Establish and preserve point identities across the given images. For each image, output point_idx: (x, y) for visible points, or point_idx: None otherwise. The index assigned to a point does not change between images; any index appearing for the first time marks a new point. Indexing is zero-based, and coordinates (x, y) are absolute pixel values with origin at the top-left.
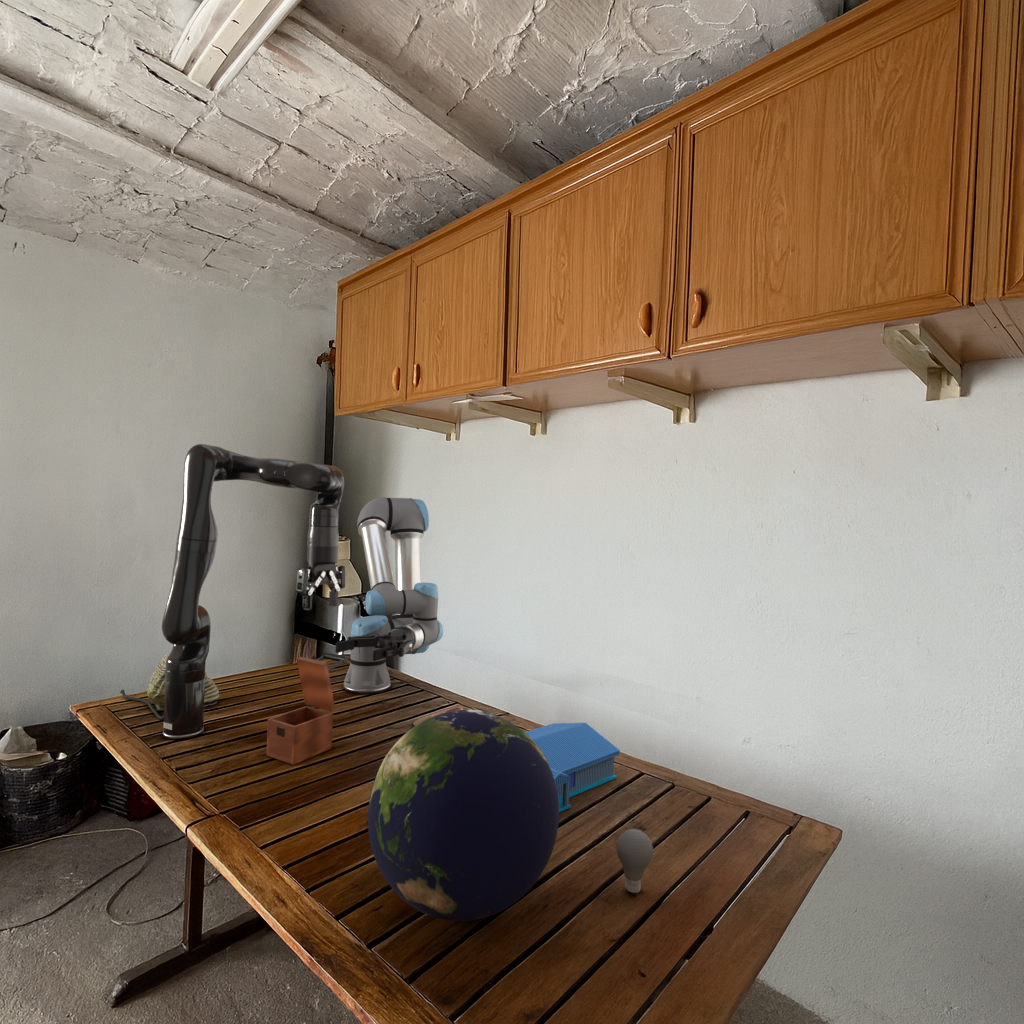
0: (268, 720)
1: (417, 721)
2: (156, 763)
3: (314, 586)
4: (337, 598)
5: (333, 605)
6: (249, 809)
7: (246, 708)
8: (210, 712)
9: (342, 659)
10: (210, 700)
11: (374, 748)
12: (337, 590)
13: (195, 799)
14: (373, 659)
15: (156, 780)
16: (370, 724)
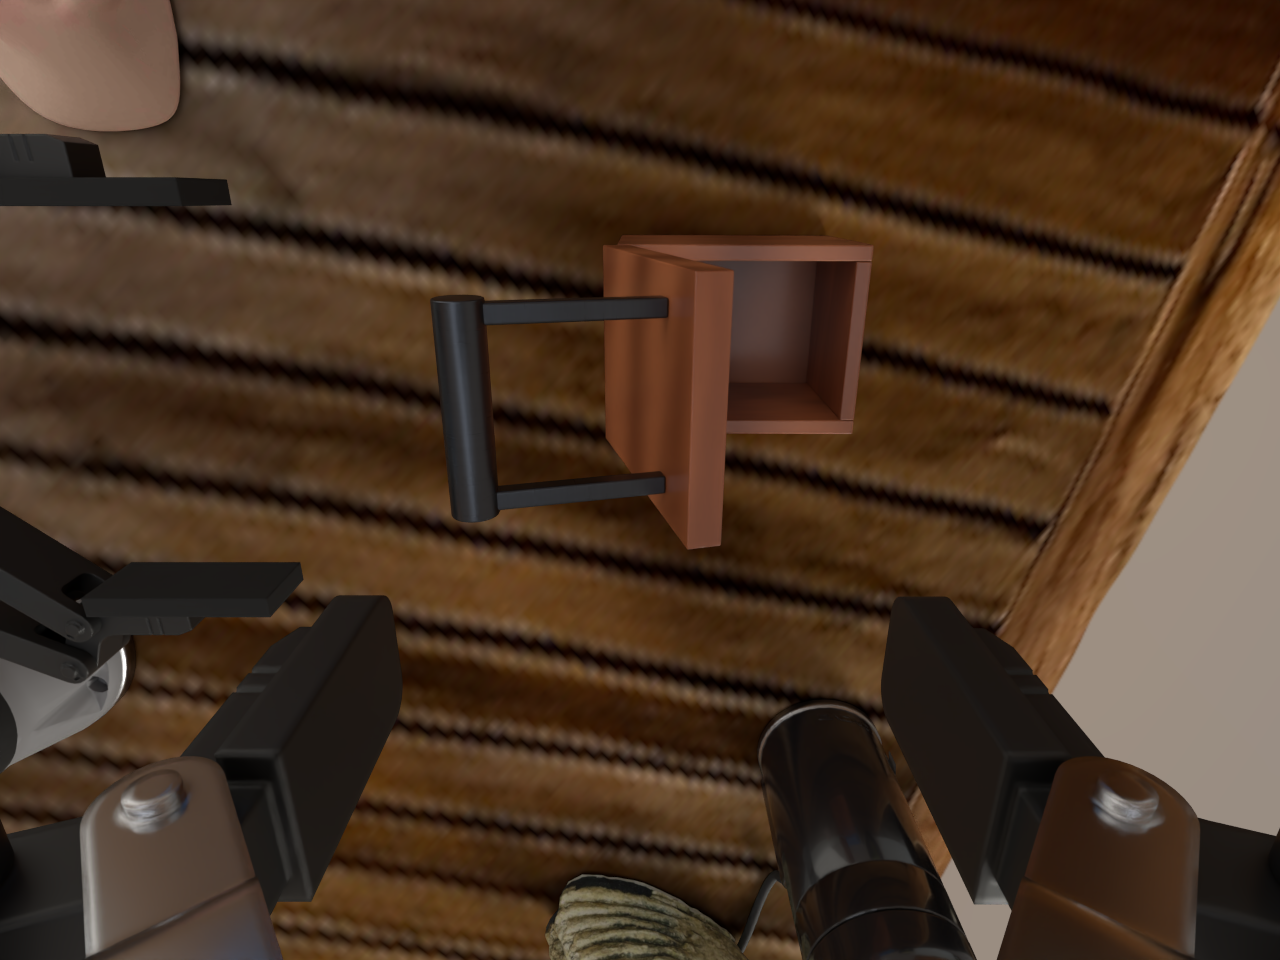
0: (851, 425)
1: (149, 91)
2: (1032, 613)
3: (1130, 928)
4: (259, 681)
5: (389, 622)
6: (1201, 55)
7: (538, 781)
8: (640, 829)
9: (482, 311)
10: (599, 890)
11: (506, 69)
12: (203, 776)
13: (1199, 289)
14: (225, 198)
15: (1130, 508)
16: (320, 299)
